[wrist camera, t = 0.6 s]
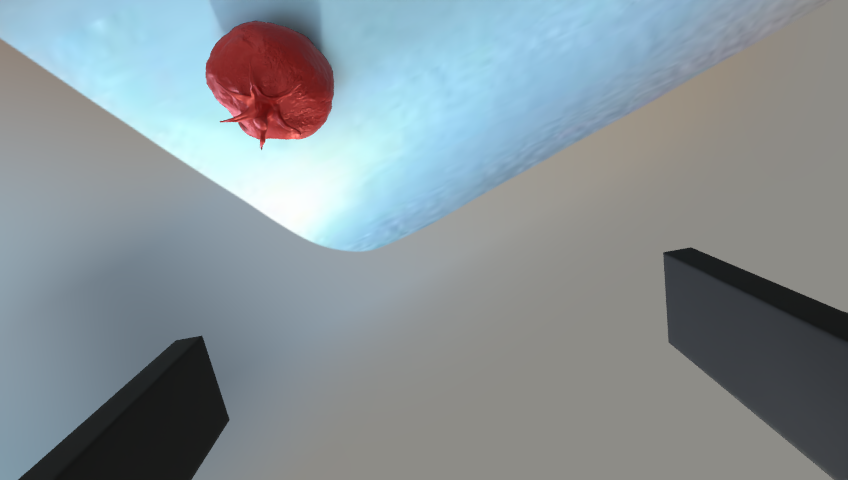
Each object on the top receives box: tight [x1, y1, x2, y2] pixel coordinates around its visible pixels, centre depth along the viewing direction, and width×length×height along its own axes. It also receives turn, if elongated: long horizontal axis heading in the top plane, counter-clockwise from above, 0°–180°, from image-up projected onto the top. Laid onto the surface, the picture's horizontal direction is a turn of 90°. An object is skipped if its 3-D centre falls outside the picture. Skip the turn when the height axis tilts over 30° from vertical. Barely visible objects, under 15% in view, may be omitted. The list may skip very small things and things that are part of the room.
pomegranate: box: [206, 21, 334, 150], centre depth 37 cm, size 10×10×9 cm
